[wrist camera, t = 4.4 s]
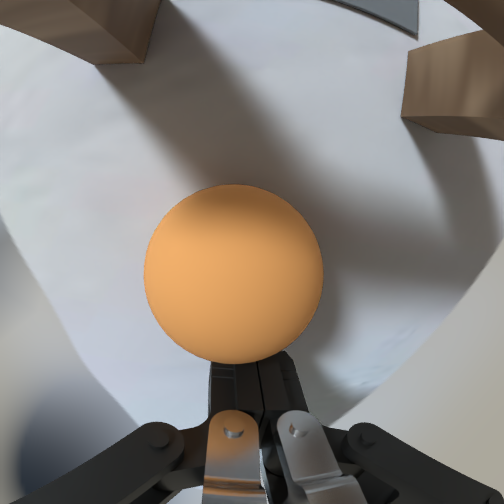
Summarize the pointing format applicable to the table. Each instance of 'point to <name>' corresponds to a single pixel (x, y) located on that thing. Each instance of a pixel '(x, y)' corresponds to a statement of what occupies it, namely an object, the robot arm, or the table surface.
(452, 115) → the bridge
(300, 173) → the table surface
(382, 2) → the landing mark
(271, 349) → the ball
